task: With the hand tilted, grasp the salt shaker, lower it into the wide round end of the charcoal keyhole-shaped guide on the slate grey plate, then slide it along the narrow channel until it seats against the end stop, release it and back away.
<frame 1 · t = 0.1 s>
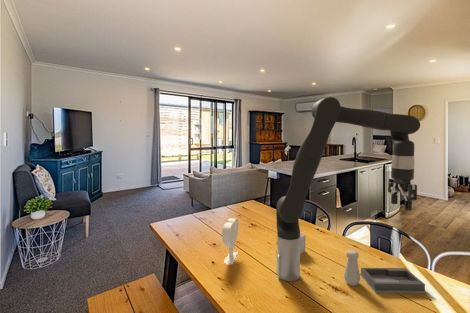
hand: (400, 206, 99), 29 cm above the table, tool pointing down, fingers open, 8 cm apart
medicine box: (297, 253, 122), on the table
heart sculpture: (231, 257, 119), on the table
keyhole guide: (390, 283, 96), on the table
salt shaker: (351, 283, 97), on the table
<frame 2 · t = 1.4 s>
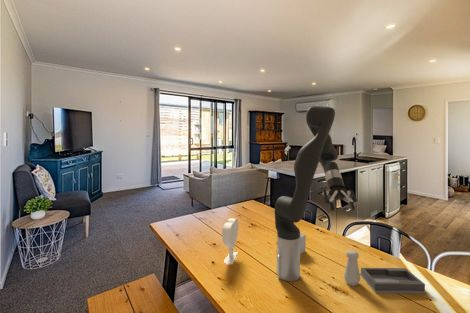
hand: (342, 210, 110), 24 cm above the table, tool tilted 45°, fingers open, 8 cm apart
nothing on the table moved.
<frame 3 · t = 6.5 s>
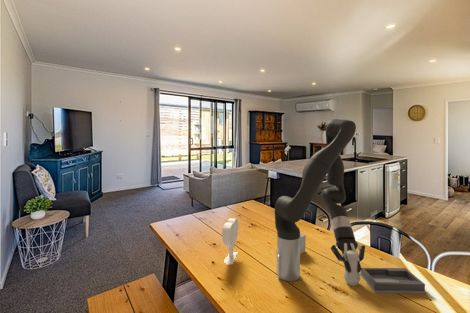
hand: (354, 271, 94), 6 cm above the table, tool tilted 45°, fingers closed on salt shaker, 3 cm apart
salt shaker: (351, 283, 97), on the table, touching gripper
everything else where it was.
when the fingers open (7 cm above the table, at t = 14.9 s): salt shaker stays where it is, resting on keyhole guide.
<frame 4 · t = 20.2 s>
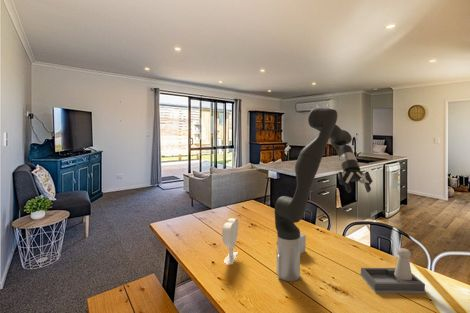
hand: (359, 191, 111), 33 cm above the table, tool tilted 45°, fingers open, 8 cm apart
salt shaker: (402, 281, 96), point 1 cm above the table, touching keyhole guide
everything else where it was.
at the end: salt shaker 0.3 cm from the target spot on the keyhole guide, point 0.6 cm above the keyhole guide's base; salt shaker tilted 0°; the gripper is holding nothing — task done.
